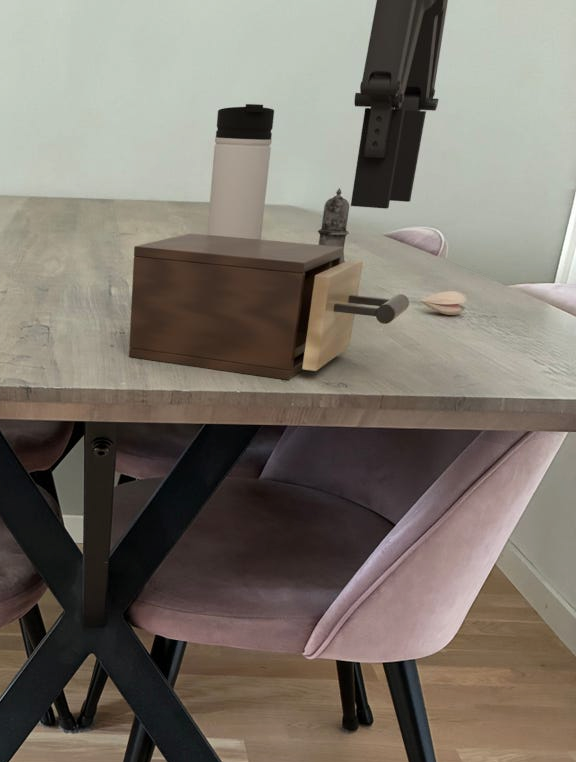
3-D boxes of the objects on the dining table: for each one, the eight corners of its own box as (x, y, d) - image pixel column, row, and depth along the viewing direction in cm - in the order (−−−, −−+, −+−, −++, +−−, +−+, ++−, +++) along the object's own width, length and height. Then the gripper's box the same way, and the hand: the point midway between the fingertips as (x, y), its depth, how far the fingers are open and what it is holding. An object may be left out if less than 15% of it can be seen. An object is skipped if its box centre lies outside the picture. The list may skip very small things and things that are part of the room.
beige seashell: (464, 319, 106) (469, 295, 104) (417, 315, 107) (422, 291, 105) (463, 312, 109) (467, 289, 108) (417, 308, 110) (422, 286, 109)
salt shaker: (357, 299, 115) (375, 189, 109) (332, 304, 111) (348, 191, 105) (316, 292, 118) (330, 185, 113) (289, 297, 115) (303, 187, 109)
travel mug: (210, 300, 111) (227, 103, 101) (196, 290, 116) (211, 103, 106) (262, 300, 111) (284, 105, 102) (245, 291, 117) (265, 105, 107)
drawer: (404, 353, 85) (421, 266, 81) (377, 379, 76) (394, 283, 72) (210, 328, 92) (217, 247, 88) (164, 349, 83) (170, 260, 79)
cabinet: (328, 352, 88) (344, 247, 84) (288, 380, 78) (304, 262, 74) (182, 333, 94) (190, 233, 89) (128, 356, 84) (133, 246, 79)
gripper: (414, -130, 74) (364, 193, 85) (350, -203, 58) (298, 208, 69) (516, -136, 71) (450, 199, 82) (479, -215, 55) (404, 216, 66)
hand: (381, 203), depth 75 cm, fingers open, 8 cm apart
